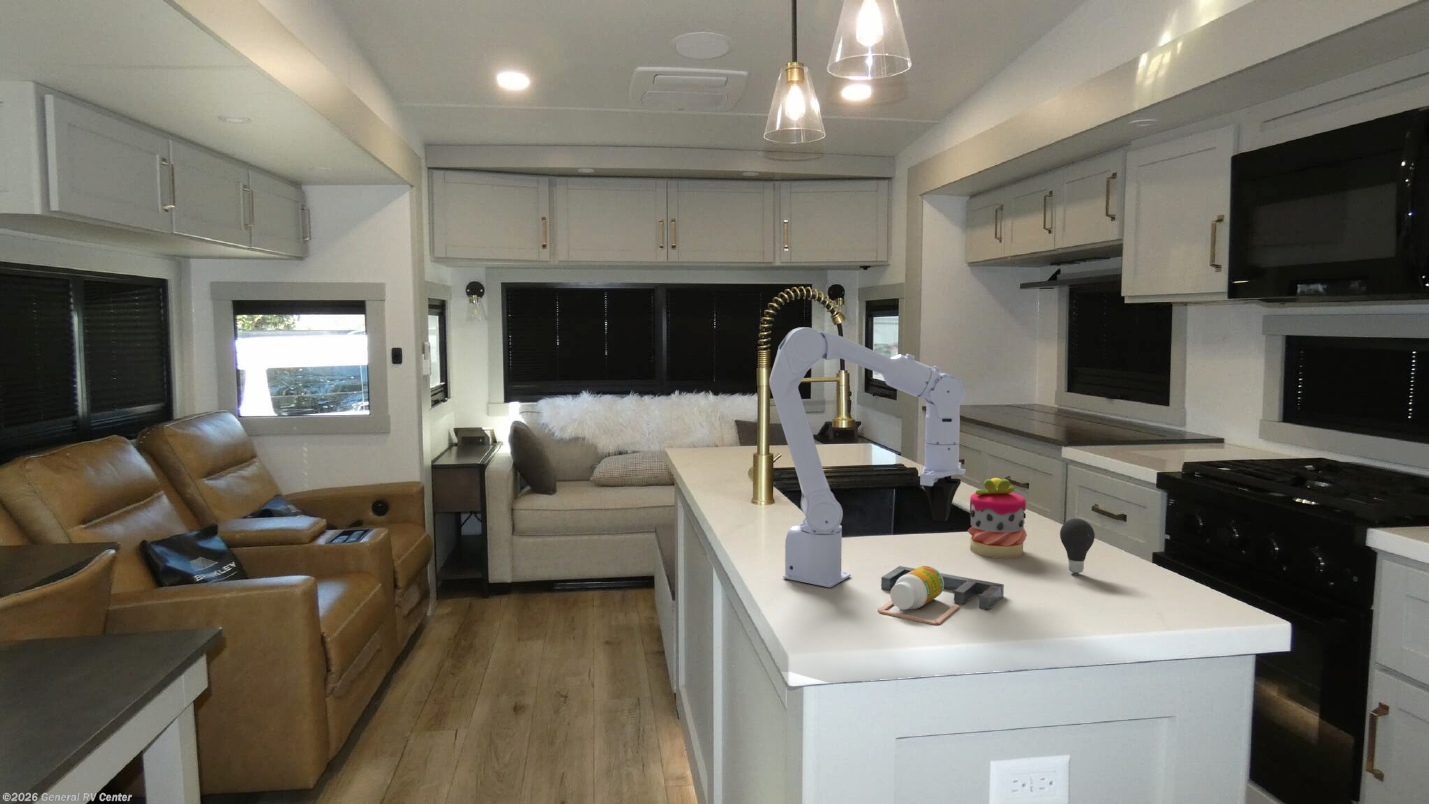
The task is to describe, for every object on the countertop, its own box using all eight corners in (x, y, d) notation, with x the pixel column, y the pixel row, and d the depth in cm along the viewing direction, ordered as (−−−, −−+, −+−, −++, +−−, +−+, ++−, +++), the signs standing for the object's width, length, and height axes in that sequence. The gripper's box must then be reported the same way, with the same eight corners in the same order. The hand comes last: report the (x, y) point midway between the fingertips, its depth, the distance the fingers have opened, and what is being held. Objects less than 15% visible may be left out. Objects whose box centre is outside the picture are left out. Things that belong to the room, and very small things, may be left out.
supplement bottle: (951, 587, 129) (924, 603, 122) (927, 603, 132) (900, 620, 125) (930, 558, 131) (903, 572, 124) (907, 575, 134) (879, 590, 127)
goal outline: (876, 612, 125) (876, 610, 125) (900, 595, 133) (900, 593, 133) (938, 625, 120) (938, 623, 120) (959, 607, 127) (959, 605, 127)
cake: (960, 544, 164) (962, 471, 162) (1012, 543, 164) (1014, 470, 163) (979, 559, 153) (981, 481, 152) (1034, 558, 154) (1036, 480, 152)
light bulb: (1053, 574, 144) (1055, 519, 143) (1065, 567, 148) (1067, 513, 147) (1086, 581, 140) (1088, 524, 139) (1097, 573, 144) (1099, 518, 143)
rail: (881, 588, 137) (881, 577, 136) (899, 577, 143) (899, 565, 143) (988, 609, 126) (989, 597, 126) (1003, 596, 132) (1003, 584, 132)
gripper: (950, 450, 132) (948, 532, 133) (978, 439, 143) (976, 514, 145) (908, 446, 136) (907, 526, 137) (939, 436, 147) (938, 509, 149)
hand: (940, 520), depth 141 cm, fingers closed
